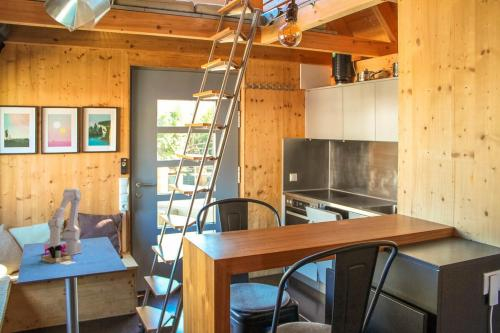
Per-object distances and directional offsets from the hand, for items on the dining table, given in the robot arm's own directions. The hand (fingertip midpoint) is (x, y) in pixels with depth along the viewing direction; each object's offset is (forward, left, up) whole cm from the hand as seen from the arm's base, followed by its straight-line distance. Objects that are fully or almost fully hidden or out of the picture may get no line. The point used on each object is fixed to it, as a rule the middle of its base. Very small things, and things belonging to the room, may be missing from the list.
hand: (55, 257), depth 284 cm
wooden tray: (-1, 0, -2) cm, 2 cm away
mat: (-1, +12, -2) cm, 13 cm away
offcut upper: (-5, +1, 0) cm, 5 cm away
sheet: (0, 0, -1) cm, 1 cm away
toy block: (-13, -19, -2) cm, 23 cm away
